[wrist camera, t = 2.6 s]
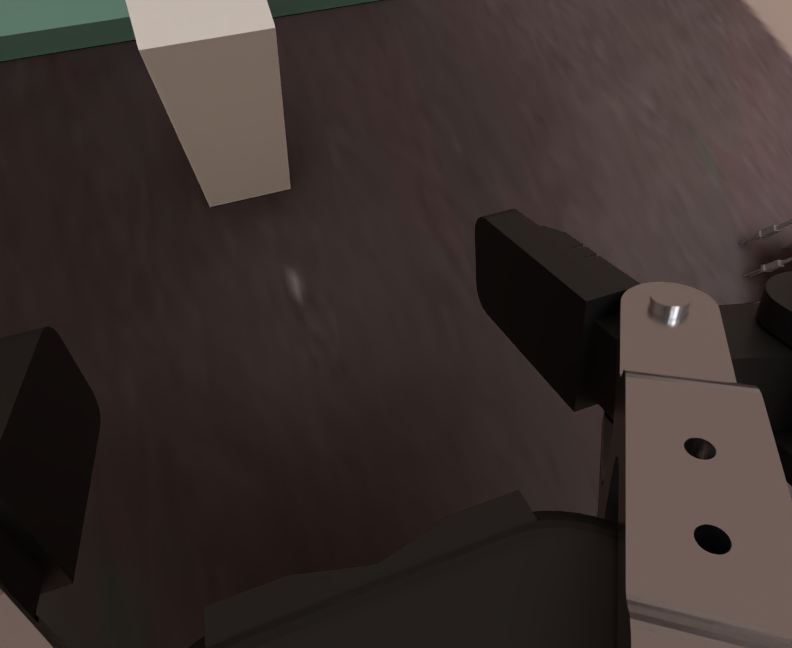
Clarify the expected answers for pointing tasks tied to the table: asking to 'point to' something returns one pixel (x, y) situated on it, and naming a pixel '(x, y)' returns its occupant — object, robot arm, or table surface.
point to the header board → (93, 23)
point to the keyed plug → (219, 90)
